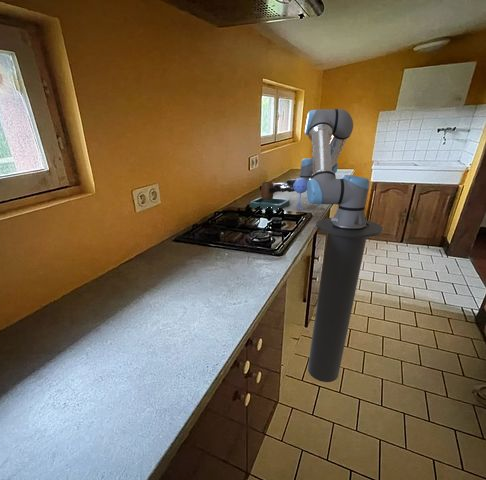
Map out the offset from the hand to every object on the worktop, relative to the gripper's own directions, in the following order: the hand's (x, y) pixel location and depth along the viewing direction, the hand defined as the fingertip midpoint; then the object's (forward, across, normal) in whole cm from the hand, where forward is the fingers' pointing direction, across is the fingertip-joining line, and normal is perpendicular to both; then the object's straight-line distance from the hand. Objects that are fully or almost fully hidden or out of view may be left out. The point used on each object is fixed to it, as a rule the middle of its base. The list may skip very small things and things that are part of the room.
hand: (264, 189), depth 186 cm
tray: (-4, 0, +11) cm, 12 cm away
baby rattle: (-13, +18, +7) cm, 23 cm away
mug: (-4, +1, +6) cm, 8 cm away
